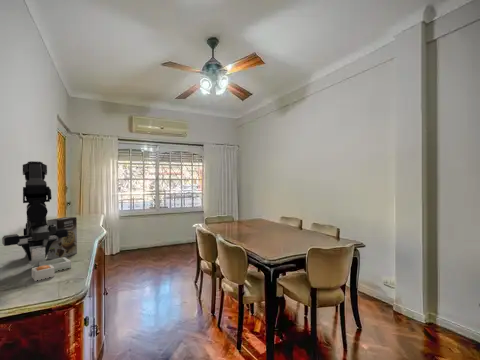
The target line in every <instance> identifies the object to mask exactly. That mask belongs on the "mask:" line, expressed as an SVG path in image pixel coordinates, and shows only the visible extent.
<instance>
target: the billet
mask: <svg viewBox="0 0 480 360" xmlns="http://www.w3.org/2000/svg"><path fill="white" fill-rule="evenodd" d="M30 253H31V261H29V265H30V266H32V267H33V266H37V265H38V266H39V262H42V261H46V258H45V247H44V246H43V245H41V246H35V247H30Z"/></svg>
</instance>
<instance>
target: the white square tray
mask: <svg viewBox="0 0 480 360" xmlns="http://www.w3.org/2000/svg"><path fill="white" fill-rule="evenodd" d="M50 264H51V265H52V266H53V267H54V270H55V272H59V271H58V270H60V271H63V270H62V269H64V270H67V269H66V268H69V269H71V268H72V260H70V259H68V257H62V258H57V259H48V260H45V261H42V262H39V265H38V267H39V266H44V265H50Z"/></svg>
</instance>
